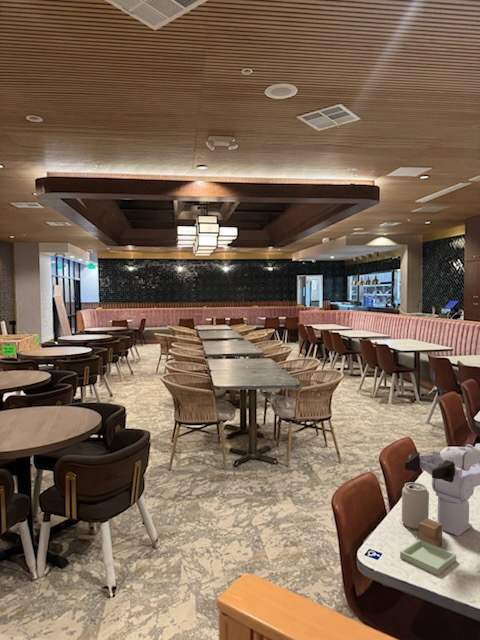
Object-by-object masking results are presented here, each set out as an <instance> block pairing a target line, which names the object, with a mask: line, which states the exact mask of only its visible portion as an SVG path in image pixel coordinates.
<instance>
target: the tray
mask: <svg viewBox="0 0 480 640" xmlns="http://www.w3.org/2000/svg"><path fill="white" fill-rule="evenodd" d="M399 553H400V554H399V558H400V559H402V560H404V561H407V562H408V563H411V564H413V565H415V566H417V567H419V568H422V569H424V570H426V571H428V572H430V573H432V574H434V575H435V576H438V575H440V574H441V573H442V572H444V571H445V570H447V568H449V567H450V566H451V565H452V564H454V563H455V562H456V561H457V553H456V554H455V553H454V552H451V551H449V550H447V549H444V548H442V547H441V546H440V547H437V546H435V545H433V544H430V543H428V542H426V541H423V540H421V539H419V540H418V539H417V540H415V541H414V542H413V543H411V544H410V545H408V546H407V547H405V548H404V549H402V550H400V551H399Z"/></svg>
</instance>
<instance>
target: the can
mask: <svg viewBox="0 0 480 640" xmlns="http://www.w3.org/2000/svg"><path fill="white" fill-rule="evenodd" d="M427 489H428V488H427V486H426V485H424V484H422V483H420V482H413V481H412V482H411V481H410V482H406V483H404V486H403V487H402V490H401V522H402V523H403V524H404V525H405V526H406V527H407V528H408V529H411V530H417V531H418V530H419V522H421V521H423V520H424V519H426V518H428V519H429V510H430V509H429V508H430V493H429V491H428V490H427Z"/></svg>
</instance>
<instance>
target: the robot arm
mask: <svg viewBox="0 0 480 640" xmlns="http://www.w3.org/2000/svg"><path fill="white" fill-rule="evenodd" d="M420 454H421V453H420V452H417V451H412V452H411V454H410V455H408V459H407V460H406V461H405V462H404V463H405V464H404V470H407V471H413V472H414V473H415V472H416V473H418V474H419V473H420V468H421V469H422V470H423V471H425V472H426V473H427V474H429V475H430V476H431V488H432V490H433V492H435V496H437V520H435V521H436V522H438V523H441V524H442V531H444V532H446V533H449V534H452V535H454V536H456V537H457V536H458V537H459V536H460V535H462V534H463V533H464V532H467V530H468V529H470V528H472V526H473V525H472V523H470V522H469V521H470V520H469V519H470V503H469V499H470V498H471V497H472V496H473V495H474V490H475V488H476V487H479V486H480V443H475V445H474V446H473V445H471V444H470V443H468V444H466V445H465V446H459V448H455V447H449V446H447V447H446V449H445V450H444V451H442V452H440V451H438V450H432V452H431V453H430V454H421V455H420Z"/></svg>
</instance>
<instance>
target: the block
mask: <svg viewBox="0 0 480 640" xmlns="http://www.w3.org/2000/svg"><path fill="white" fill-rule="evenodd" d="M436 521H437V520H433V519H431V518H429V517H428V518H426V519H424V520H423V521H421V522H419V530H417V531H418V534H417V535H418V536H417V538H418V539H417V540H419V539H421V540H423V541H426V542H428V543H430V544H433V545H435V546H437V547H440V548H441V547H442V546H443V530H442V524H441V523H438V522H436Z"/></svg>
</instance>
